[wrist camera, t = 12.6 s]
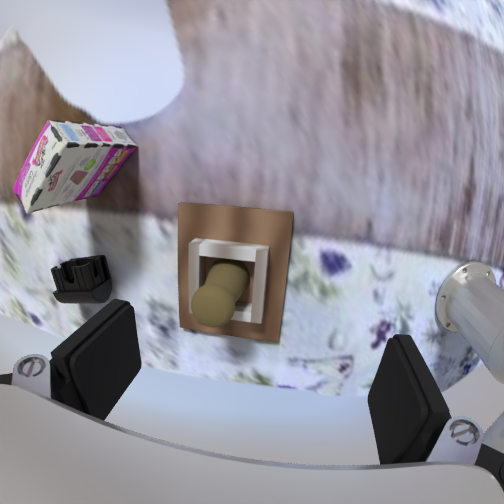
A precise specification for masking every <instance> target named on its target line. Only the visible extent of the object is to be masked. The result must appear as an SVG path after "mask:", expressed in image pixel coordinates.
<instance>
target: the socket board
mask: <svg viewBox="0 0 504 504" xmlns="http://www.w3.org/2000/svg"><path fill="white" fill-rule="evenodd" d="M292 222H293V212H290V211H280V210H270V209H259V208H248V207H236V206H224V205H211V204H197V203H182V202H181V203H179V204H178V291H179V318H180V327H181V328H187V329H192V330H198V331H204V332H210V333H216V334H222V335H229V336H236V337H243V338H250V339H258V340H266V341H274V342H278V340H279V333H280V326H281V318H282V310H283V302H284V294H285V286H286V277H287V269H288V260H289V251H290V242H291V232H292ZM221 258H226V259H235V260H240V261H241V262H243V263H244V264H245V266H246V267H247V268H248V270H249V273H250V283H249V286H248V288H247V289H246V290H245V291H244V293H243V294H242V295H241V296H240V298H239V299H238V300H237V301H236V303H235V311H234V315H233V317H232V318H231V319H230V321H229V322H228V323H226V324H225V325H223V326H220V327H208V326H205V325H203V324H201V323H200V322H198V320H197V319H196V318H195V317H194V315H193V313H192V310H191V301H192V296H193V295H194V293H195V292H196V291H197V289H199V288H200V287H202V286H203V285H204V284H205V281H206V279H207V276H208V274H209V271H210V268H211V267H212V265H213V264H214V262H216V261H217V260H218V259H221Z"/></svg>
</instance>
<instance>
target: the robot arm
mask: <svg viewBox="0 0 504 504" xmlns="http://www.w3.org/2000/svg"><path fill="white" fill-rule="evenodd" d="M436 313H437V317H438V319H439V321H440V323H441V324H442V325H443V326H444V328H446V329H447V330H449V331H452V332H460V333H461V334H462V335H463V337H464V338H465V339H466V341H467V342H468V343H469V344H470V346H471V347H472V348H473V350H474V351H475V352H476V354H477V355H478V356H479V358H480V359H481V360H482V362H483V363H484V364H485V366H486V367H487V368H488V370H489V371H490V372H491V374H492V375H493V376H494V378H495V379H496V380H498V381H499V382H501V383H503V384H504V290H503V289H502V288H500V287H499V286H498V285H496V280H495V277H494V274H493V272H492V270H491V269H490V268H489V267H488V266H486V265H485V264H483V263H481V262H477V261H470V262H466V263H464V264H462V265H460V266H458V267H457V268H456V269H454V270H453V271H452V272H451V273H450V274H449V275H448V276H447V278H446V279H445V281H444V282H443V284H442V286H441V288H440V290H439V293H438V296H437V301H436ZM51 356H52V359H51V360H50V361H49V360H48V359H47V358H46V357H45V356H43V355H39V354H32V355H27V356H25V357H22V358H21V359H20V360H18V361H17V362H16V364H15V366H14V368H13V373H10V374H3V375H0V504H504V411H503V413H502V414H501V415H500V416H499V417H498V418H497V419H496V420H495V422H494V423H493V424H492V425H491V426H490V427H489V428H488V429H487V431H486V432H485V433H484V434H483V431H482V428H481V427H480V425H479V424H478V423H477V422H476V421H474V420H473V419H471V418H469V417H465V416H457V417H453V418H452V417H451V415H450V413H449V408H448V406H447V404H446V402H445V400H444V398H443V396H442V394H441V392H440V390H439V388H438V386H437V384H436V382H435V380H434V378H433V376H432V374H431V372H430V370H429V368H428V366H427V365H426V363H425V361H424V359H423V357H422V355H421V353H420V352H419V350H418V348H417V346H416V344H415V343H414V341H413V339H412V337H411V336H410V335H401V334H395V335H394V336H393V338H389V339H388V341H387V344H386V347H385V350H384V353H383V356H382V359H381V362H380V365H379V368H378V370H377V373H376V376H375V378H374V381H373V384H372V386H371V389H370V391H369V394H368V405H369V410H370V414H371V419H372V424H373V429H374V434H375V438H376V443H377V449H378V454H379V460H380V465H347V466H346V465H341V466H340V465H338V466H336V465H306V464H292V463H280V462H271V461H261V460H254V459H247V458H241V457H235V456H228V455H223V454H217V453H213V452H208V451H203V450H199V449H194V448H190V447H186V446H182V445H178V444H174V443H170V442H166V441H163V440H160V439H156V438H153V437H149V436H146V435H143V434H140V433H137V432H134V431H131V430H128V429H125V428H122V427H119V426H117V425H114V424H111V423H109V422H105V421H104V420H105V419H106V417H107V416H108V414H109V413H110V411H111V410H112V409H113V407H114V406H115V404H116V403H117V402H118V400H119V399H120V397H121V396H122V394H123V393H124V392H125V390H126V389H127V388H128V386H129V385H130V383H131V382H132V381H133V379H134V378H135V376H136V375H137V374H138V372H139V370H140V369H141V357H140V350H139V344H138V337H137V329H136V321H135V313H134V308H133V306H131V305H130V303H129V302H128V301H124V300H119V299H114V300H112V301H111V302H110V303H109V304H107V305H106V306H105V307H104V308H102V309H101V310H100V311H99V312H98V313H96V314H95V315H94V316H93V317H92V318H90V319H89V320H88V321H87V322H86V323H84V324H83V325H82V326H81V327H80V328H79V329H77V330H76V331H75V332H74V333H73V334H71V335H70V336H69V337H68V338H67V339H66V340H65V341H63V342H62V343H61V344H60V345H59V346H58V347H57V348H55V349H54V350H53V351H52V352H51Z"/></svg>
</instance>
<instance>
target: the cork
mask: <svg viewBox="0 0 504 504" xmlns="http://www.w3.org/2000/svg"><path fill="white" fill-rule="evenodd" d="M249 283H250V273H249V270H248V268H247V267H246V266H245V264H244V263H243V262H241V261H240V260H235V259H226V258H221V259H218V260H217V261H216V262H214V264H213V265H212V267H211V268H210V271H209V274H208V276H207V279H206V281H205V284H204V285H203V286H202V287H200V288H199V289H197V291H196V292H195V293H194V295H193V296H192V301H191V310H192V313H193V315H194V317H195V318H196V319H197V320H198V322H200V323H201V324H203V325H205V326H208V327H220V326H223V325H225V324H226V323H228V322H229V321H230V319H231V318H232V317H233V315H234V311H235V303H236V301H237V300H238V299H239V298H240V296H241V295H242V294H243V293H244V291H245V290H246V289H247V288H248V286H249Z"/></svg>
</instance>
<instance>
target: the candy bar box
mask: <svg viewBox="0 0 504 504" xmlns="http://www.w3.org/2000/svg"><path fill="white" fill-rule="evenodd" d="M137 147H138V146H137V145H136V144H135V142H134V141H133V140H132V139H131V138H130V137H129V135H128V134H127V133H126V132H125V130H124V129H123V128H122V127H115V126H107V125H98V124H88V123H79V122H68V121H54V120H48V121H47V123H46V125H45V126H44V128H43V130H42V132H41V133H40V135H39V137H38V139H37V140H36V142H35V144H34V146H33V148H32V150H31V152H30V153H29V155H28V157H27V159H26V161H25V163H24V165H23V167H22V169H21V171H20V174H19V176H18V178H17V180H16V182H15V184H14V187H13V190H14V192H15V194H16V196H17V197H18V199H19V201H20V202H21V204H22V206H23V208H24V209H25V211H26V213H27V214H28V213H31V212H34V211H38V210H42V209H45V208H49V207H53V206H57V205H61V204H65V203H68V202H73V201H77V200H81V199H85V198H89V197H94V196H98V195H100V193H101V192H102V190H103V189H104V188H105V186H106V185H107V184H108V182H109V181H110V180H111V179H112V177H113V176H114V175H115V173H116V172H117V171H118V170H119V168H120V167H121V166H122V165H123V163H124V162H125V161H126V160H127V159H128V157H129V156H130V155H131V154H132V153H133V151H134V150H135V149H136V148H137Z"/></svg>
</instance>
